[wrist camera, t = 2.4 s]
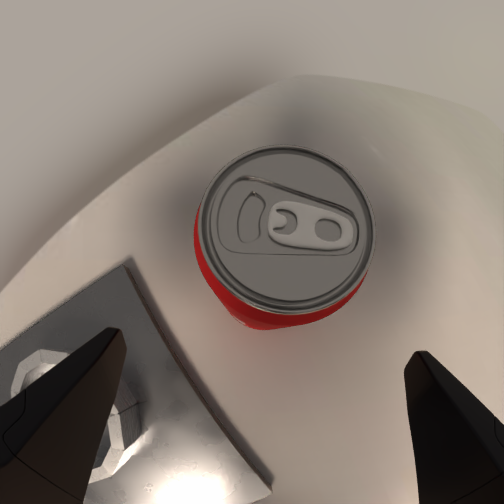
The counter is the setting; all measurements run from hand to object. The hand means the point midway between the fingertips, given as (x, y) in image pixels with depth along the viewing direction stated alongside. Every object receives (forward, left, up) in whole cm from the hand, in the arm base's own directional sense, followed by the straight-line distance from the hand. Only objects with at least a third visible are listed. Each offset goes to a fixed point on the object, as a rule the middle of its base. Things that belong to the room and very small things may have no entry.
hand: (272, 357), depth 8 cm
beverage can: (+3, -2, -11) cm, 11 cm away
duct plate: (0, +14, -10) cm, 17 cm away
